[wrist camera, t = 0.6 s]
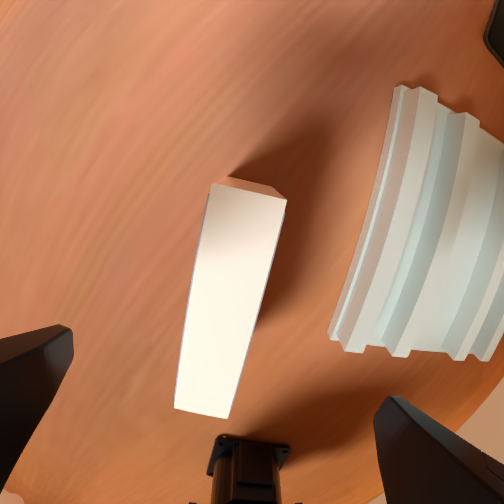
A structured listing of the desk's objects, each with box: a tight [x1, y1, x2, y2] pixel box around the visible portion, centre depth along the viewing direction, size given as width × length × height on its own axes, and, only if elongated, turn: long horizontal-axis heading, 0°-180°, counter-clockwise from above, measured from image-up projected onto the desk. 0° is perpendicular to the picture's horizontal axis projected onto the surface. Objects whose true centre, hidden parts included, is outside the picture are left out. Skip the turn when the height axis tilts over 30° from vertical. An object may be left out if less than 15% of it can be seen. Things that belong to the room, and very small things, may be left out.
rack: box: [327, 84, 504, 361], centre depth 16 cm, size 16×14×3 cm
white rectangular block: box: [174, 176, 287, 419], centre depth 14 cm, size 10×3×7 cm, turn 167°
